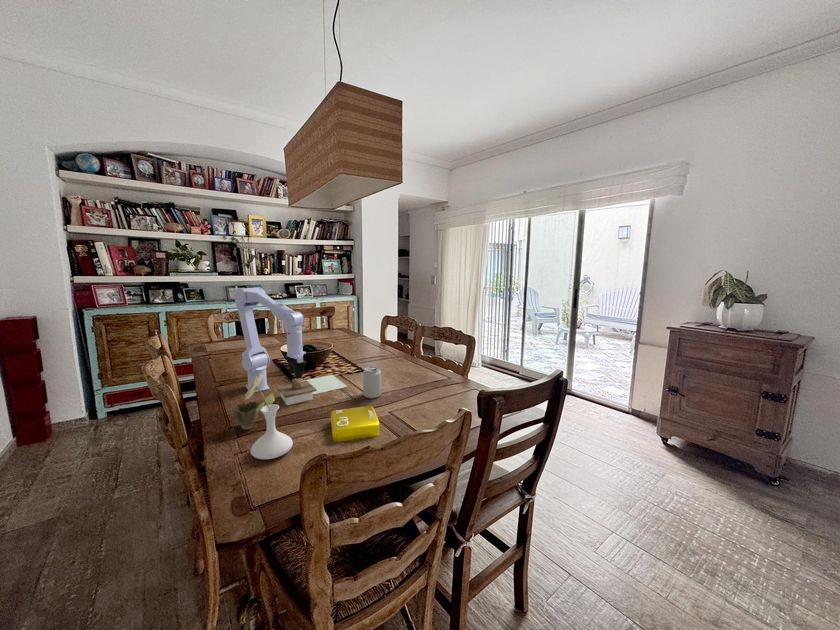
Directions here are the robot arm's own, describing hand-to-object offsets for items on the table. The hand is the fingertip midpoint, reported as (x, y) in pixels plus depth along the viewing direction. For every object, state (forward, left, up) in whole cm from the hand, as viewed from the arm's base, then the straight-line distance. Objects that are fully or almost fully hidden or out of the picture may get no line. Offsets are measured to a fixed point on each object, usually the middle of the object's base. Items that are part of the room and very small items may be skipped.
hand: (296, 375), depth 131 cm
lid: (0, 0, -6) cm, 6 cm away
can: (+14, +27, -10) cm, 32 cm away
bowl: (0, 0, -10) cm, 10 cm away
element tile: (+35, +10, -11) cm, 38 cm away
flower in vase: (+35, -17, -10) cm, 40 cm away
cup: (+15, -20, -10) cm, 27 cm away
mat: (-9, +14, -10) cm, 19 cm away
